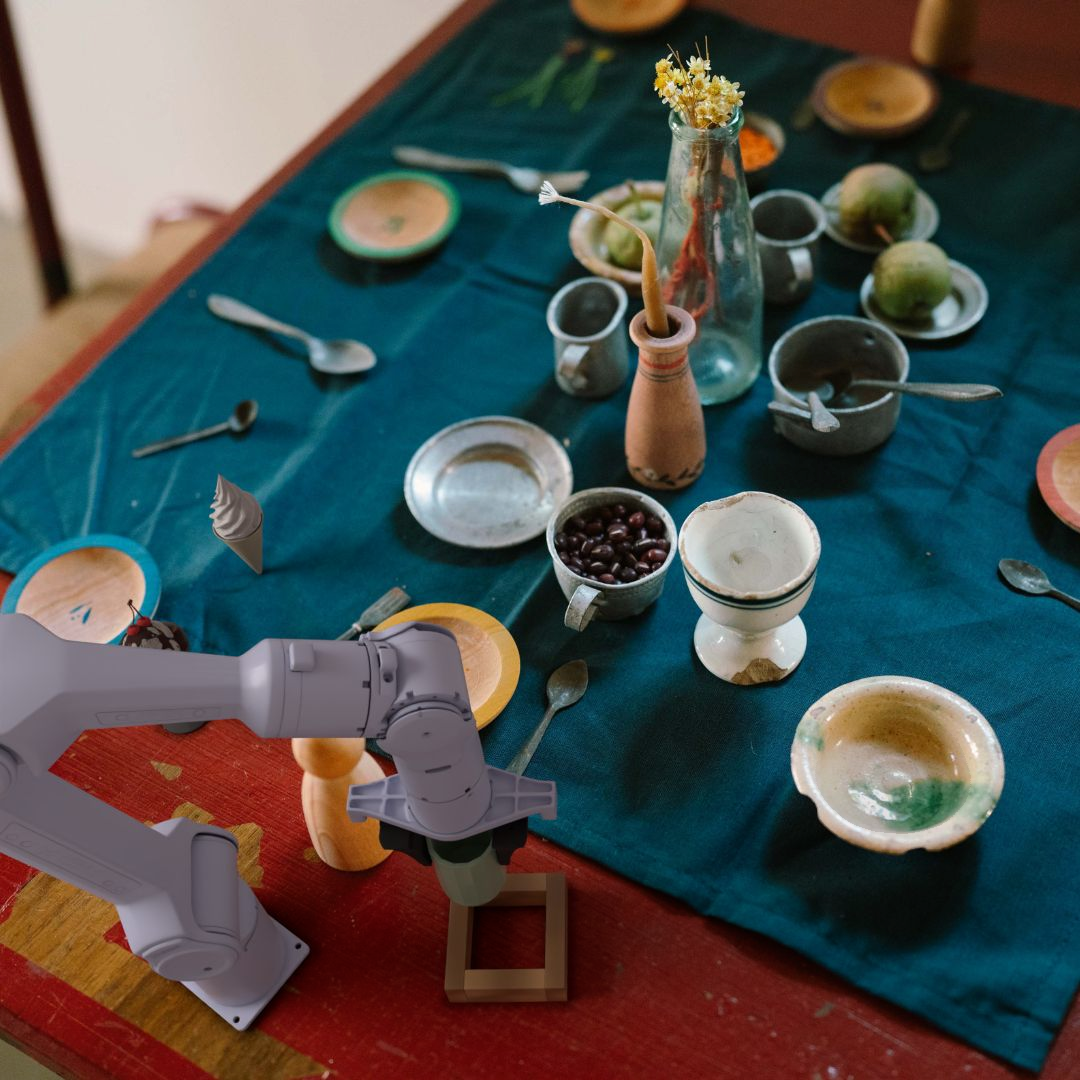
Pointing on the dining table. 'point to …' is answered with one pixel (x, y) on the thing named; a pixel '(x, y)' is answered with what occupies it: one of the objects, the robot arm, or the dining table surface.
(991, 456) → the dining table surface
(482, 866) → the cup
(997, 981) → the dining table surface
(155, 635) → the sundae
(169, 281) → the dining table surface
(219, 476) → the ice cream cone
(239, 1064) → the dining table surface
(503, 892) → the brown square frame
